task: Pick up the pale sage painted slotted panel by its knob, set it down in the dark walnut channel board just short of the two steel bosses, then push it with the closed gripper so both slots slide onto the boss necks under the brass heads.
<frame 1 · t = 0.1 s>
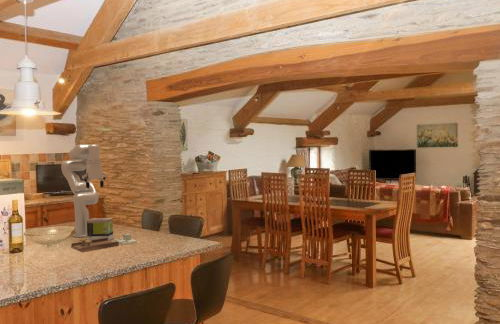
hand: (94, 187, 313), 37 cm above the kitchen island, tool pointing down, fingers open, 9 cm apart
tea box: (100, 240, 317), on the kitchen island
panel: (125, 242, 309), on the kitchen island
board: (95, 246, 297), on the kitchen island
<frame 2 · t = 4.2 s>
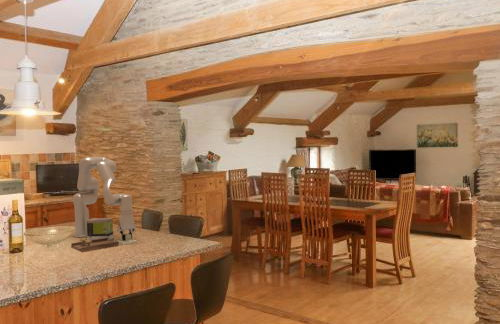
hand: (127, 239, 310), 2 cm above the kitchen island, tool pointing down, fingers closed on panel, 4 cm apart
panel: (125, 242, 309), on the kitchen island, touching gripper
everything else where it was.
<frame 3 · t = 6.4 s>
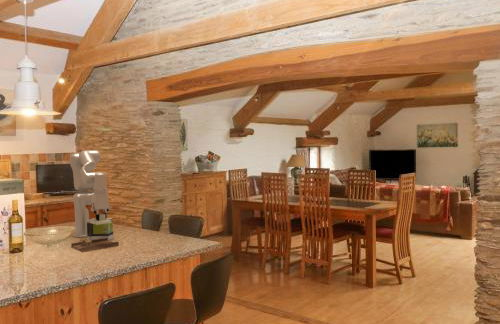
hand: (101, 219, 299), 17 cm above the kitchen island, tool pointing down, fingers closed on panel, 4 cm apart
panel: (99, 222, 298), point 15 cm above the kitchen island, touching gripper
everything else where it was.
when the fingers open (4 cm above the kitchen island, at t = 8.9 s): panel drops 1 cm, resting on board.
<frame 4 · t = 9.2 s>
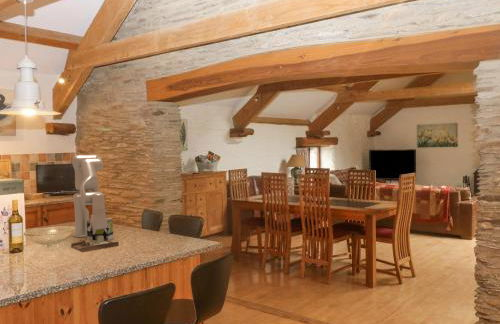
hand: (99, 239, 299), 4 cm above the kitchen island, tool pointing down, fingers open, 6 cm apart
panel: (97, 244, 298), point 1 cm above the kitchen island, touching board
everything else where it was.
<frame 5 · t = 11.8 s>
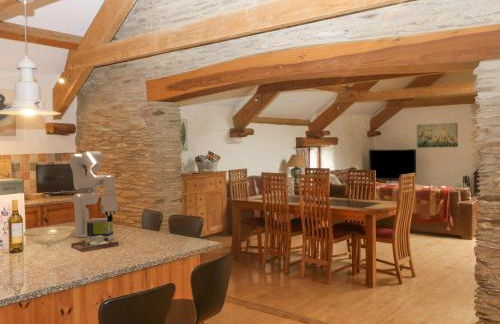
hand: (109, 221, 303), 15 cm above the kitchen island, tool pointing down, fingers closed
nothing on the kitchen island moved.
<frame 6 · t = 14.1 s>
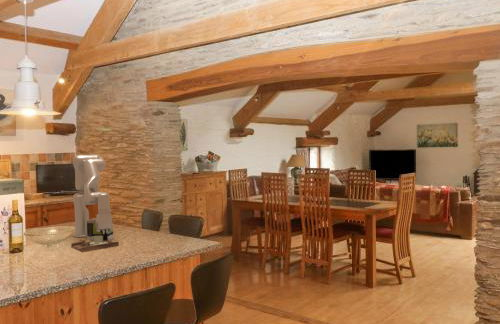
hand: (104, 239, 301), 4 cm above the kitchen island, tool pointing down, fingers closed
panel: (96, 244, 297), point 1 cm above the kitchen island, touching gripper
everything else where it was.
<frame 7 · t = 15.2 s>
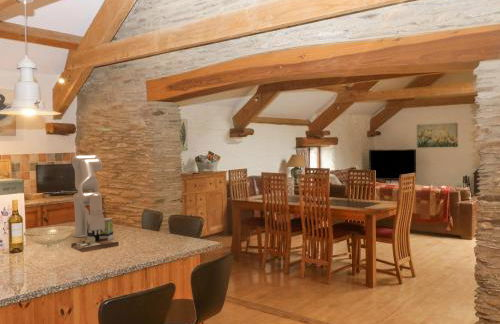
hand: (96, 240, 297), 4 cm above the kitchen island, tool pointing down, fingers closed
panel: (88, 245, 294), point 1 cm above the kitchen island, touching board, gripper
everything else where it was.
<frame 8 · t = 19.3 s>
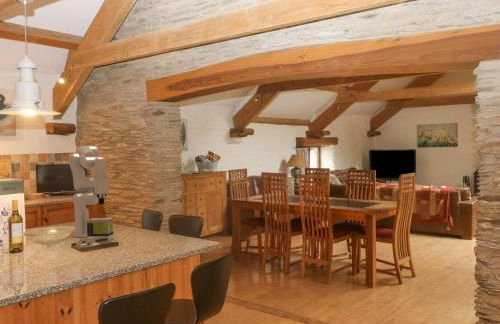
hand: (101, 204, 299), 27 cm above the kitchen island, tool pointing down, fingers closed
panel: (88, 245, 294), point 1 cm above the kitchen island, touching board
everything else where it was.
at the end: panel 0.7 cm from the target spot on the board, point 1.2 cm above the board's base; panel tilted 0°; panel touching board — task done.
